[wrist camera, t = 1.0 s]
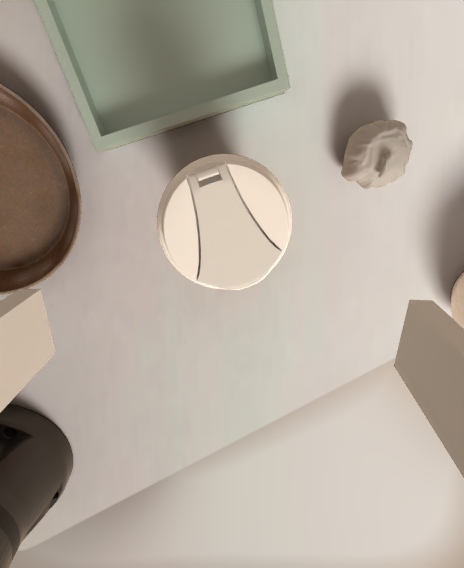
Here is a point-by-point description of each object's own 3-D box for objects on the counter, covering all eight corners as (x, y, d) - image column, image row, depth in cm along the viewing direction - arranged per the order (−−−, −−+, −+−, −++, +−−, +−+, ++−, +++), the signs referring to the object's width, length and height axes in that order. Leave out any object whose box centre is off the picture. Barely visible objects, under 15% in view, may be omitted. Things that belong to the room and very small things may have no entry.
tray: (104, 151, 29) (95, 150, 27) (9, -85, 24) (-13, -112, 21) (283, 93, 29) (290, 86, 26) (228, -162, 23) (230, -198, 21)
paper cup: (162, 174, 30) (129, 183, 17) (244, 145, 30) (275, 130, 17) (193, 255, 33) (186, 316, 20) (269, 228, 32) (313, 273, 19)
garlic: (358, 201, 32) (385, 208, 27) (320, 161, 31) (342, 160, 26) (407, 151, 31) (445, 149, 26) (370, 106, 30) (402, 95, 25)
